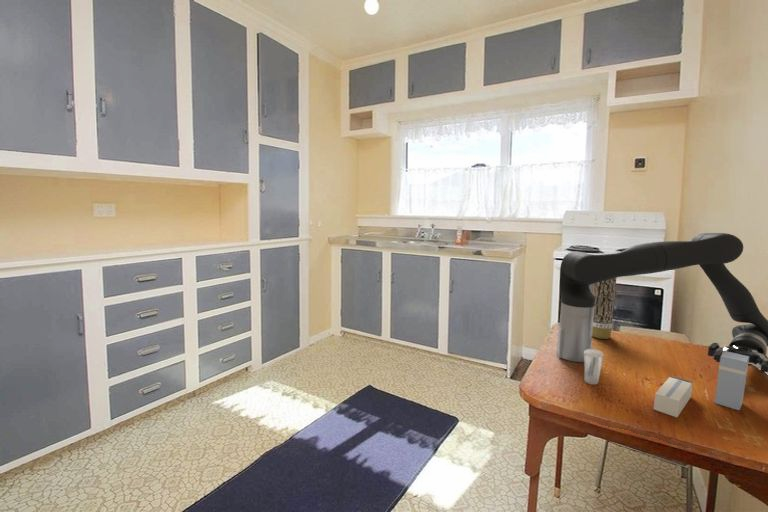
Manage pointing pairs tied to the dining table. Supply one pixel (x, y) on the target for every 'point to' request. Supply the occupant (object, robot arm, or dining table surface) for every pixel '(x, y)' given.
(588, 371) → the milkshake
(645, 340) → the dining table surface
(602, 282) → the paper tube
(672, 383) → the white striped box
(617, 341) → the dining table surface
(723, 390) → the tall grey box
